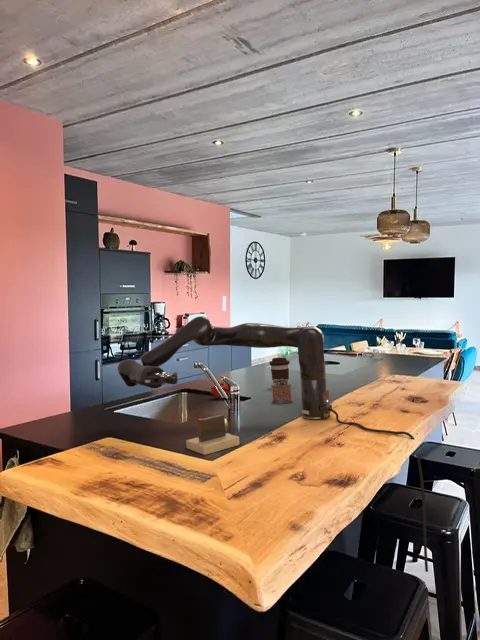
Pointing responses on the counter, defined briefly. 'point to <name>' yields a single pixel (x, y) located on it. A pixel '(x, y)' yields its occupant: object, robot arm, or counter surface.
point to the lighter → (281, 391)
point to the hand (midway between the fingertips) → (174, 380)
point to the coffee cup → (279, 369)
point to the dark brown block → (211, 428)
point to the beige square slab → (212, 444)
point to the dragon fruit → (215, 392)
